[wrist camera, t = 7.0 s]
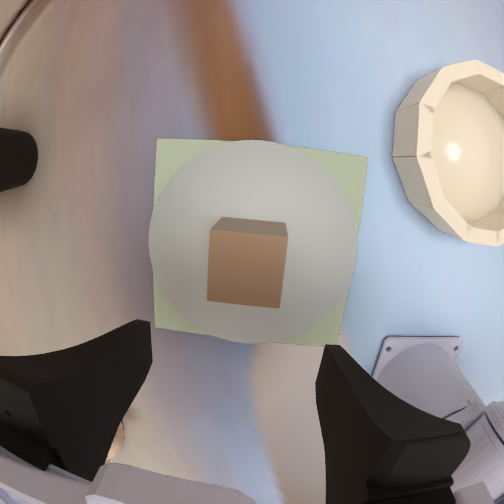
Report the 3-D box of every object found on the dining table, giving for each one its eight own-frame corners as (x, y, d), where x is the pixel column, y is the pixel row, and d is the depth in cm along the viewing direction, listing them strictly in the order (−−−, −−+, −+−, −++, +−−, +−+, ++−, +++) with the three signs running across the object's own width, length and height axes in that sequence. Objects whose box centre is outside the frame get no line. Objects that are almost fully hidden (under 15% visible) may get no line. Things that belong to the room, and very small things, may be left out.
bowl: (504, 240, 20) (533, 253, 16) (384, 220, 20) (406, 232, 17) (515, 102, 17) (545, 97, 13) (396, 55, 17) (418, 37, 13)
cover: (335, 345, 23) (347, 383, 18) (154, 325, 23) (131, 358, 19) (367, 154, 19) (393, 152, 14) (156, 136, 20) (125, 130, 15)
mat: (334, 343, 23) (335, 347, 23) (157, 324, 24) (155, 326, 23) (366, 157, 19) (368, 157, 19) (159, 139, 20) (157, 138, 20)
